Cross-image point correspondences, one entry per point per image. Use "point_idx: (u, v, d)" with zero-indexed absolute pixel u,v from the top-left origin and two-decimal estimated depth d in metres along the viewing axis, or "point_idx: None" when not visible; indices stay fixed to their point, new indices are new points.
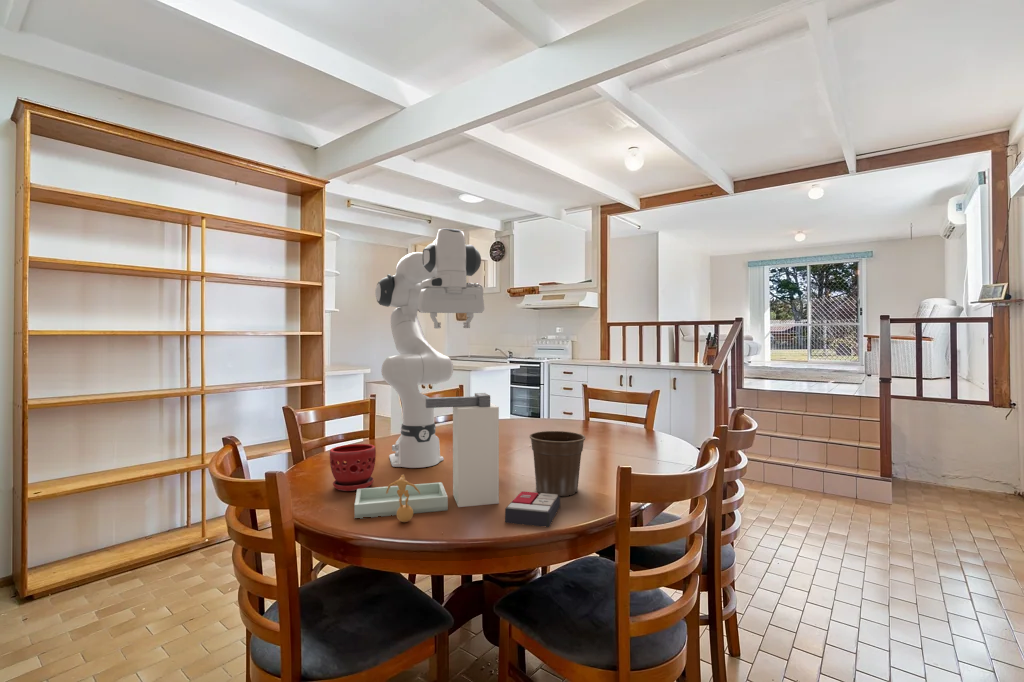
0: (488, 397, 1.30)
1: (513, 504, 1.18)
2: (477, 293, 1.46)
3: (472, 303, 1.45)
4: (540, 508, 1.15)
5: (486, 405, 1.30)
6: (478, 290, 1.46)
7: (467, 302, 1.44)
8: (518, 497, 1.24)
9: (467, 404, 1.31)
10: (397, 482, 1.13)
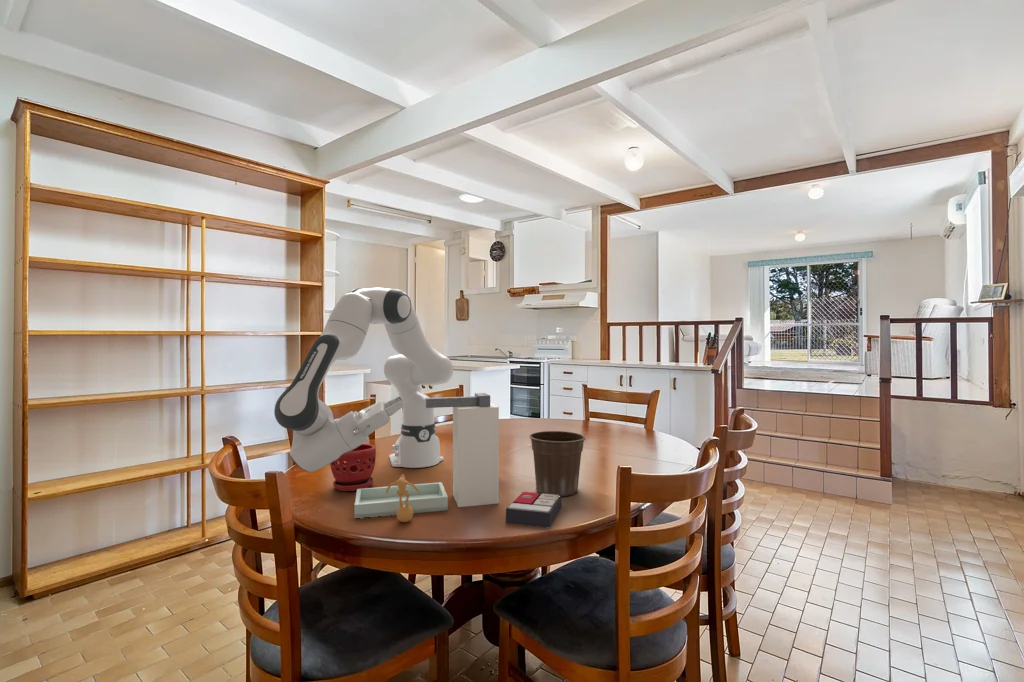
0: (488, 397, 1.30)
1: (514, 504, 1.18)
2: None
3: None
4: (541, 508, 1.15)
5: (486, 405, 1.30)
6: (365, 435, 1.17)
7: None
8: (519, 497, 1.23)
9: (467, 404, 1.31)
10: (397, 482, 1.13)
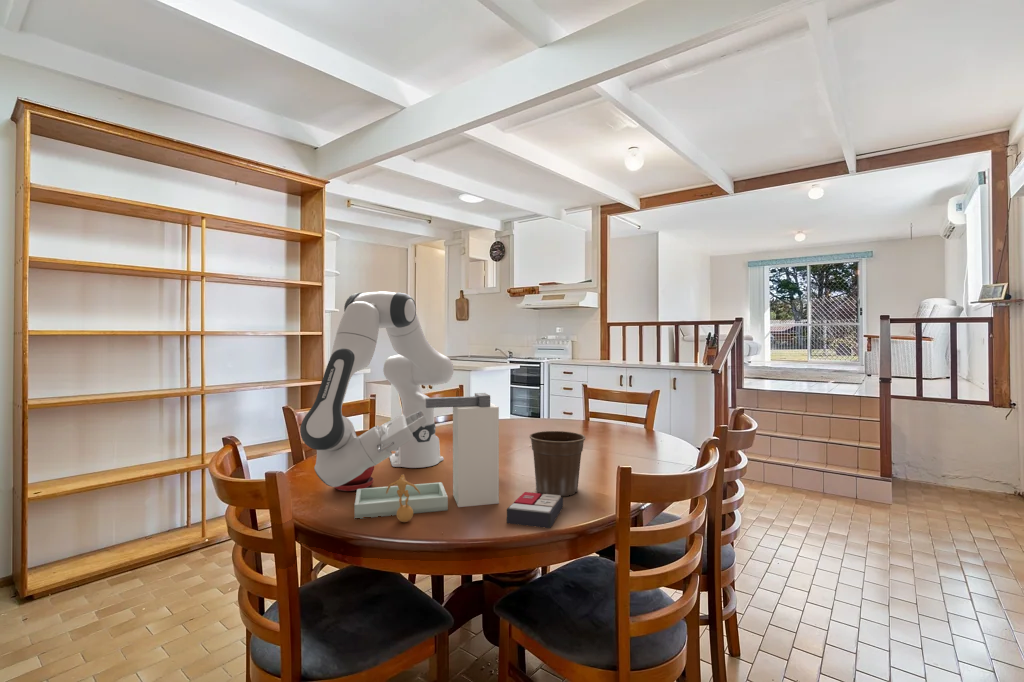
0: (488, 397, 1.30)
1: (515, 505, 1.18)
2: None
3: None
4: (542, 509, 1.15)
5: (486, 405, 1.30)
6: (389, 451, 1.19)
7: None
8: (520, 498, 1.23)
9: (467, 404, 1.31)
10: (397, 482, 1.13)
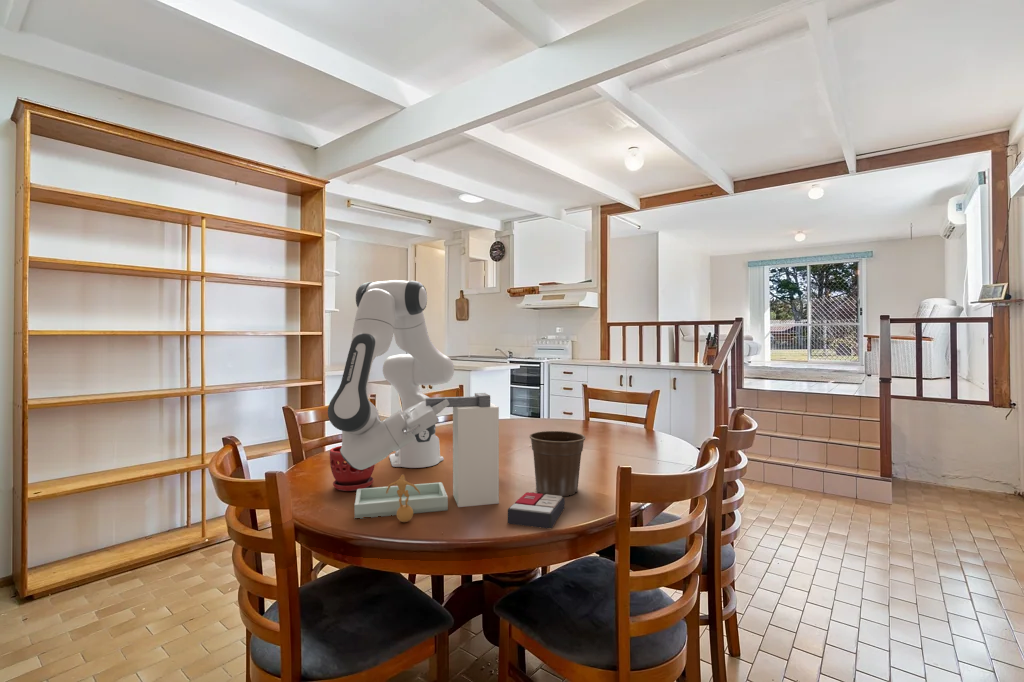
0: (488, 397, 1.30)
1: (516, 505, 1.18)
2: None
3: None
4: (543, 509, 1.14)
5: (486, 405, 1.30)
6: None
7: None
8: (522, 498, 1.23)
9: (467, 404, 1.31)
10: (397, 482, 1.13)
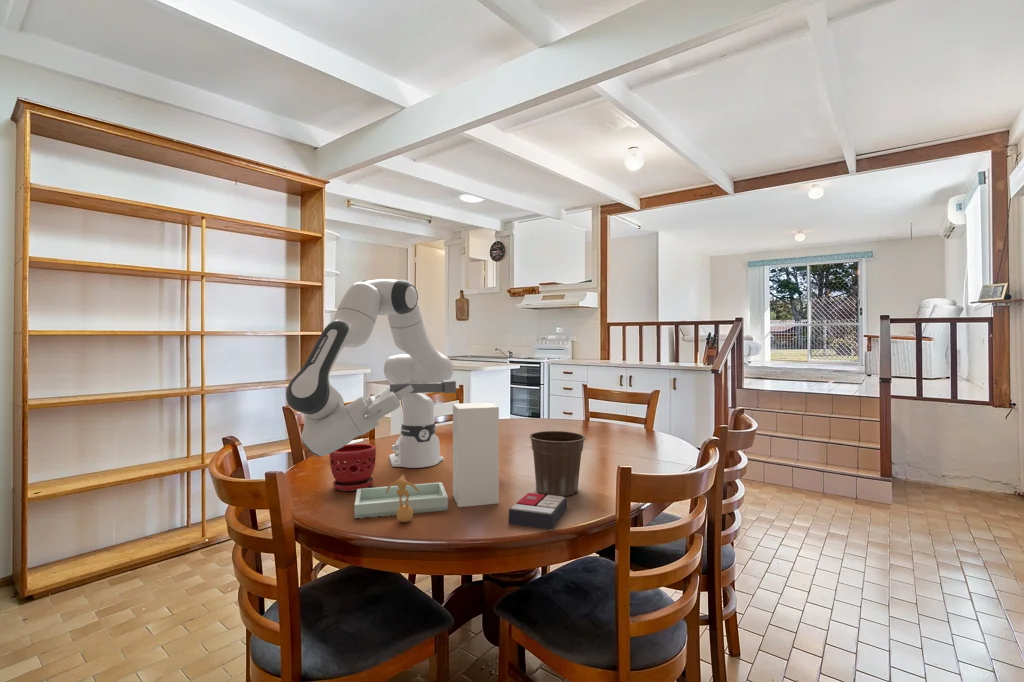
0: (454, 383, 1.27)
1: (517, 505, 1.17)
2: None
3: None
4: (544, 510, 1.14)
5: (451, 391, 1.27)
6: (376, 419, 1.18)
7: None
8: (524, 498, 1.23)
9: (432, 390, 1.28)
10: (397, 482, 1.13)
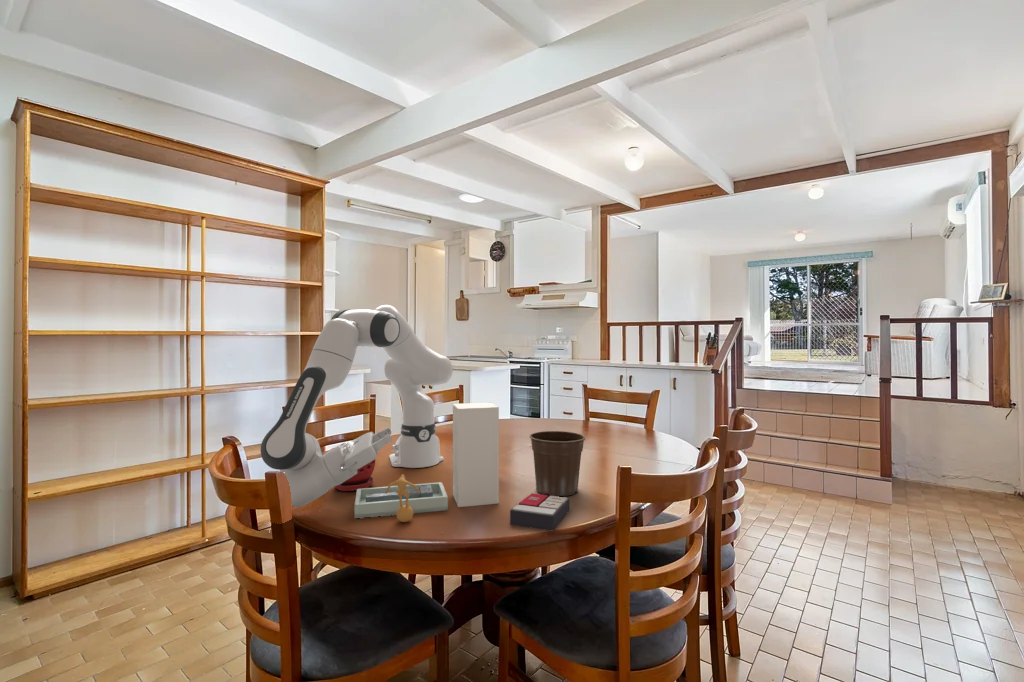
0: (430, 494, 1.26)
1: (519, 506, 1.17)
2: None
3: None
4: (545, 511, 1.13)
5: None
6: (352, 471, 1.16)
7: None
8: (526, 499, 1.22)
9: None
10: (397, 482, 1.13)
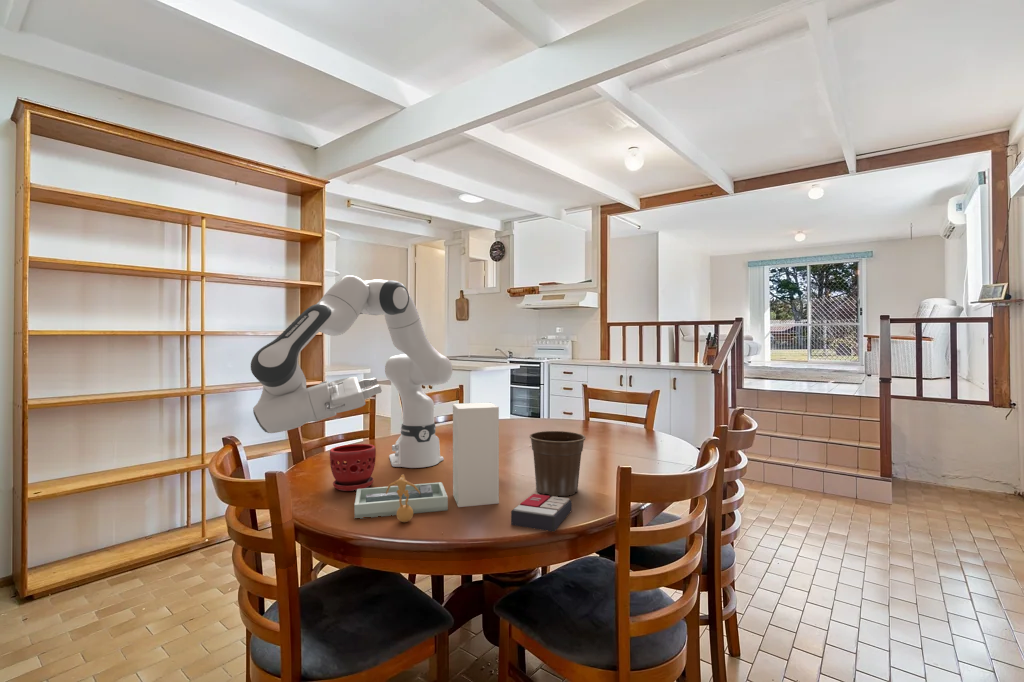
0: (430, 494, 1.26)
1: (520, 506, 1.16)
2: None
3: None
4: (546, 512, 1.13)
5: None
6: None
7: None
8: (527, 499, 1.22)
9: None
10: (397, 482, 1.13)
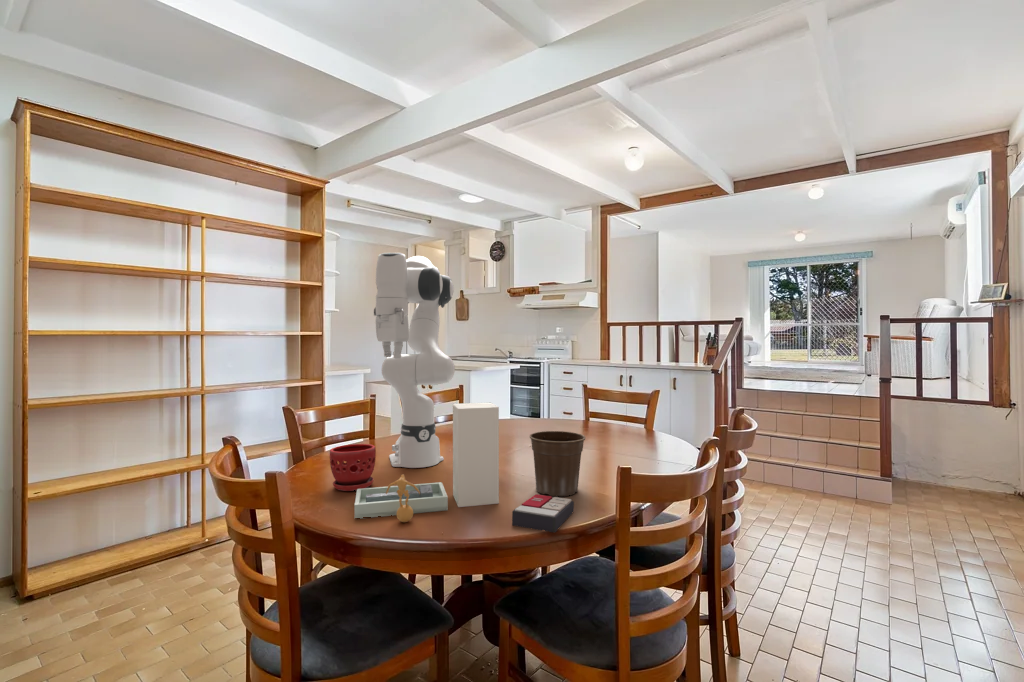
0: (430, 494, 1.26)
1: (521, 507, 1.16)
2: (393, 319, 1.28)
3: (391, 331, 1.30)
4: (547, 512, 1.12)
5: None
6: (394, 316, 1.28)
7: (390, 330, 1.31)
8: (529, 500, 1.21)
9: None
10: (397, 482, 1.13)
